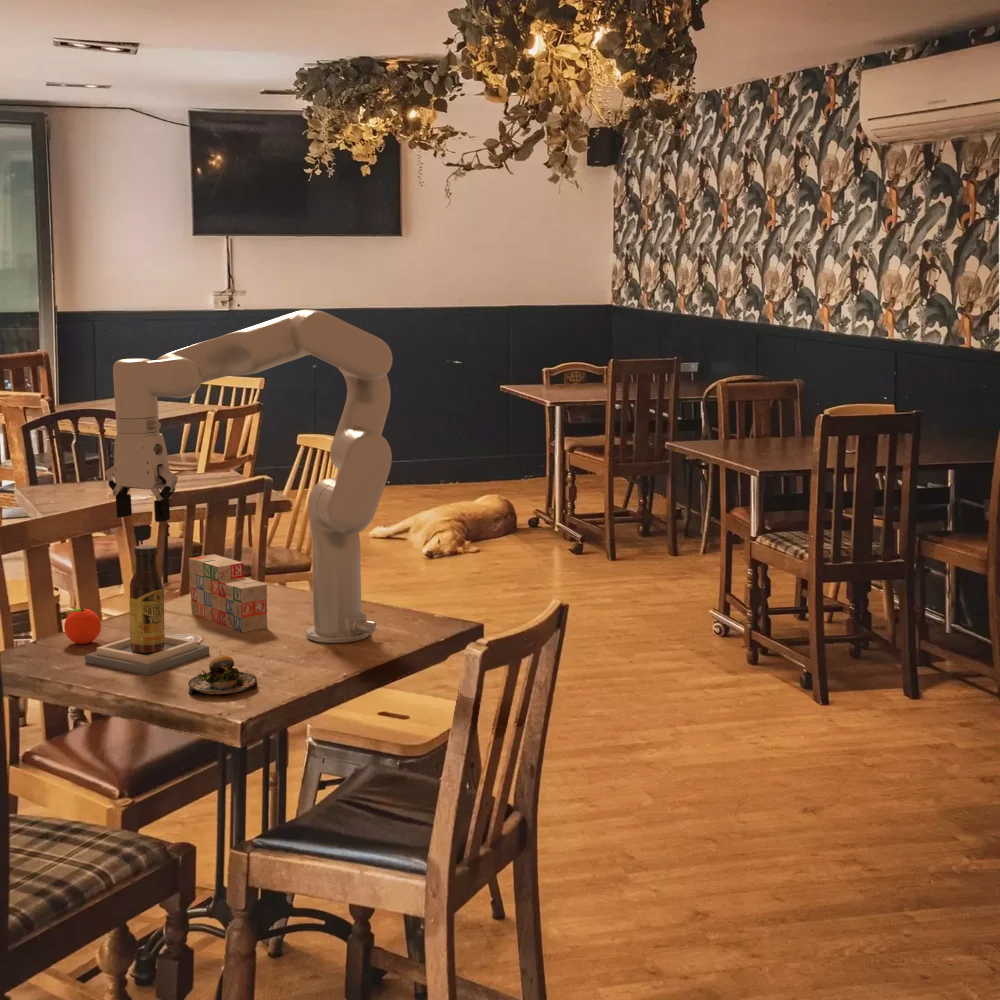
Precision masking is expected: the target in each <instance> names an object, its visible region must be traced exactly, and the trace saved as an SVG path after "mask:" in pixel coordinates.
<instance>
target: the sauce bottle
mask: <svg viewBox="0 0 1000 1000" xmlns="http://www.w3.org/2000/svg"><path fill="white" fill-rule="evenodd" d="M157 554H158V547H157V546H156V545H154V544H153V545H152V544H150V545H149V544H148V545H147V544H146V545H145V544H144V545H136V546H134V556H135V573H134V575H133V576H132V578H131V579H130V583H129V630H130V631H129V634H130V635H129V638H130V642H131V644H132V645H131V650H132V651H133V652H135V653H139V654H147V653H156V652H159V651H161V650H163V648H164V641H165V635H166V633H165V594H164V591H165V590H164V587H163V584H162V583H161V579H160V576H159V572H158V570H157V568H158V567H157Z"/></svg>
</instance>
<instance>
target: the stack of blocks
mask: <svg viewBox="0 0 1000 1000" xmlns="http://www.w3.org/2000/svg"><path fill="white" fill-rule="evenodd" d="M188 568H189V586H190V598H191V599H190V607H191V614H193V615H194V616H198V617H200V618H202V619H204V620H207V621H209V622H213V623H216V624H219V625H221V626H224V627H227V628H229V629H232V630H234V631H237V632H239V633H246V632H251V631H256V630H262V629H267V628H268V601H267V599H268V585H267V583H263V582H260V581H258V580H255V579H251V578H249V577H245V575H244V574H245V572H244V569H245V568H244V562H242V561H239V560H235V559H232V558H228V557H224V556H222V555H218V554H214V553H213V554H207V555H202V556H196V557H190V558H188Z"/></svg>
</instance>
